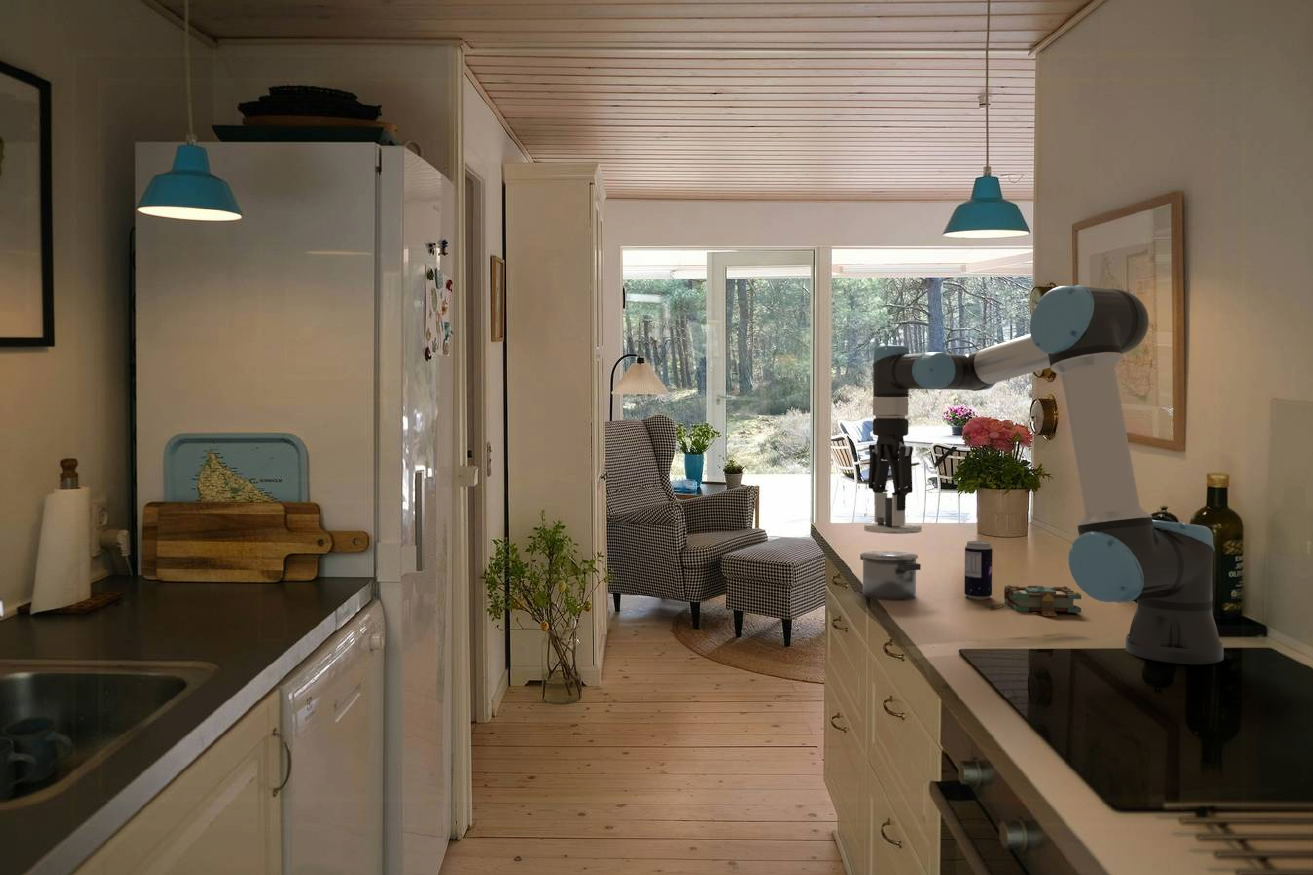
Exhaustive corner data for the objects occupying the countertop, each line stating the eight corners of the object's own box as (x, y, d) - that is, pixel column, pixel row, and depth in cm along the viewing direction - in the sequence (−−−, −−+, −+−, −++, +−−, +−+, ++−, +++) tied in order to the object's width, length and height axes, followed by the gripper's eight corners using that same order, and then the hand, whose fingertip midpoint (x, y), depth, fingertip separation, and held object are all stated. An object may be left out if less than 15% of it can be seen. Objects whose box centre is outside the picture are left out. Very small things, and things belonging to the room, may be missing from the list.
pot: (891, 588, 231) (891, 548, 231) (936, 601, 215) (936, 558, 215) (844, 591, 227) (844, 550, 227) (887, 604, 211) (887, 561, 211)
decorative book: (979, 602, 215) (979, 579, 215) (1064, 604, 214) (1065, 580, 214) (994, 615, 202) (994, 590, 202) (1086, 617, 201) (1086, 591, 201)
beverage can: (993, 600, 216) (994, 544, 215) (965, 599, 217) (966, 543, 217) (990, 596, 221) (990, 541, 221) (963, 595, 222) (963, 540, 222)
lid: (933, 531, 216) (933, 498, 216) (888, 534, 211) (888, 501, 211) (896, 526, 227) (896, 495, 227) (853, 529, 222) (853, 497, 222)
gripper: (931, 417, 212) (930, 528, 213) (881, 417, 230) (880, 519, 231) (900, 417, 210) (899, 529, 210) (852, 417, 228) (851, 520, 228)
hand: (889, 523), depth 221 cm, fingers closed on lid, 6 cm apart
